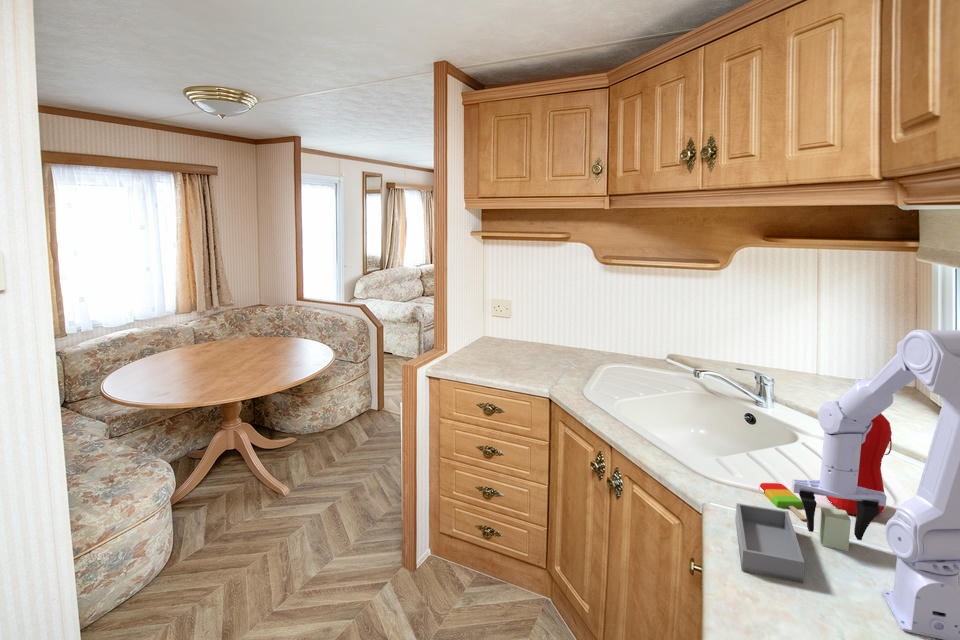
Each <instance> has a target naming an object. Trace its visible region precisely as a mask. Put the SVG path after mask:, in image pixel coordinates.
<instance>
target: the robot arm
mask: <svg viewBox="0 0 960 640" xmlns="http://www.w3.org/2000/svg"><path fill="white" fill-rule="evenodd" d="M917 379H918V380H919V381H920V382H921V383H922V384H923V385H924V386H925V387H926V388H927V389H928V390H929V392H931V393H934V394H935V395H938V396H939V397H940V399H941V400H942V404H941V408H940V411H939V415H938V419H937V422H936V425H935V429H934V432H933V435H932V439H931V443H930V447H929V449H928V452H927V456H926V460H925V462H924V463H925V464H924V467H923V470H922V474H921V476H920V480H919V484H918V488H917V491H916V494H915V495H914V496H912V497H911V498H909V499H907V500H906V501H904V502H903V503H901V504H899V505H897V507H896V510H895V513H894V514H893V516H892V517H891V518H889V519H888V520H887V522H886V524H885V529H884V530H885V531H884V534H885V540H886V542H887V545H888V547H889V548H890V550H891V552H892V553H893V554H894V555H895V556H896V562H895V563H896V565H895V574H894V581H893V582H894V583H893V589H892V590H893V591H892V590H886V589H883V590H882V595H883V597H884V599H885V600H886V602H887V603H888V604H887V605H888V606H889V607H890V610H891V612H892V614H893V616H894V618H895V619H896V622H897V624H898V625H899V627H900V629H901V630H902V631H904V632H909V633H912V634H917V635H922V636H925V637H926V636H927V637H930V638H935V639H940V640H960V584H959V582H960V581H959V580H960V329H958V330H957V329H955V330H954V329H951V330H949V329H948V330H945V329H944V330H941V329H940V330H939V329H938V330H927V329H914V330H912V331H910V332H909V333H908V334H906V335H905V336H904V339H901V340H900V341H898V342H897V344H896V354H895V355H894V356H893V357H892V358H891V359H890V360H889V361H888V362H887V363H886V364H885V365H884V366H883V368H882V369H880V371H879V372H878V373H877V374H876V375H875V376H874V377H873V378H861V379H860V378H859V379H857V380H855V381H854V385H852V387H851V388H850V389H848V390H847V391H846V392H845V393H843V394H842V395H840V397H839V398H838V399H837V400H833V401H823V402H822V404H821V406H820V407H819V408H818V413H817V418H818V423H819V425H820V427H821V429H822V430H823V444H822V457H821V468H820V469H821V470H820V476H819V477H820V479H817V480H816V479H815V480H814V479H795V478H794V479H792V485H791V489H792V493H793V494H798V495H799V499H800V500H801V501H802V503H803V506H804V507H803V509H804V511H805V518H806V524H807V525H806V527H807V529H808V530H807V531H808V532H810V533H814V530H815V513H816V508H817V504H818V503H817V501H816V496H815V495H817V496H824V497H826V496H829V497H836V498H842V499H849V500H856V501H857V513H856V517H855V522H854V529H853V530H854V536H855V538H856V540H857V541H862V540H863V537H864V535H865V533H866V531H867V529H868V527H869V526H870V524H871V523H872V521H874V519H875V518H877V517H878V516H879V515H880V514H879V512H880V508H879V507H878V505H880V506H884V507H886V506H887V498H888V497H887V495H886V493H885V491H884V492H880V491H875V490H870V489H866V488H862V487H858V486H857V482H858V472H859V462H860V452H861V444H863V443H864V442H865V438H866V434H867V433H868V432H869V431H870V430H871V427H872V422H871V420H872V419H874V418H875V417H876V416H878V415H879V414H880V413H881V414H882V413H883V412H884V411H886V410H887V409H888V408H890V407H891V406H892V404H893V403H894V395H893V394H895V393H896V392H898V391H899V390H901V389H902V388H905V387H906V386H907V385H909V384H910V383H912V382H913V381H915V380H917ZM884 493H885V494H884Z"/></svg>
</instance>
